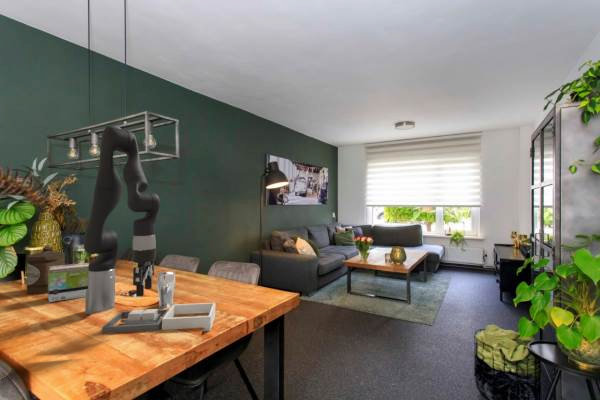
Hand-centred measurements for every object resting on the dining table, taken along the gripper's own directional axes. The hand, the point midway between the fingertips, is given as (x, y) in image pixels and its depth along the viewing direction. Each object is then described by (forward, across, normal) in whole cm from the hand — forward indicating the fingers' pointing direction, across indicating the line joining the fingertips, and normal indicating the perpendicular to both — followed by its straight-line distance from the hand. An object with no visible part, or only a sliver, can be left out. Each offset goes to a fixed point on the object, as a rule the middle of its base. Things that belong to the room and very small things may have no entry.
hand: (144, 292), depth 107 cm
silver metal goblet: (+12, -18, +3) cm, 22 cm away
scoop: (+12, 0, 0) cm, 12 cm away
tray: (+12, 0, -2) cm, 12 cm away
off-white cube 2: (+11, 0, +2) cm, 11 cm away
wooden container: (+11, -54, -64) cm, 85 cm away
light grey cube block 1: (+11, 0, -3) cm, 11 cm away
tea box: (+12, -40, -46) cm, 62 cm away
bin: (+12, 0, +16) cm, 20 cm away
